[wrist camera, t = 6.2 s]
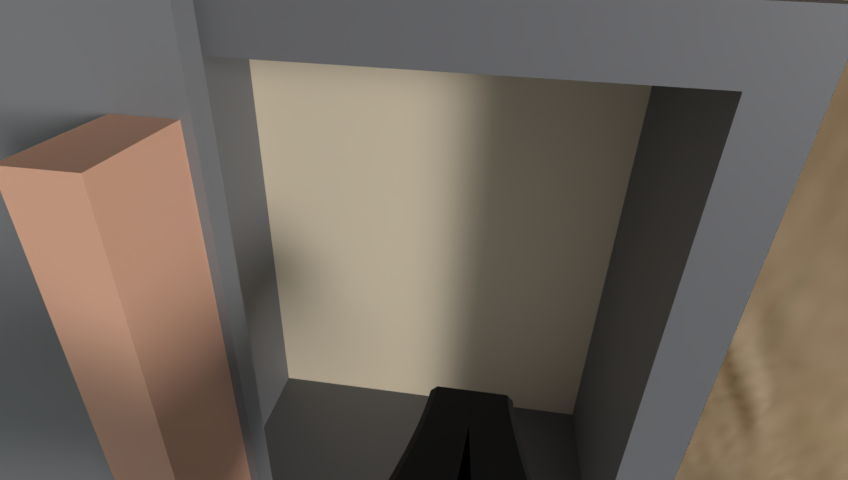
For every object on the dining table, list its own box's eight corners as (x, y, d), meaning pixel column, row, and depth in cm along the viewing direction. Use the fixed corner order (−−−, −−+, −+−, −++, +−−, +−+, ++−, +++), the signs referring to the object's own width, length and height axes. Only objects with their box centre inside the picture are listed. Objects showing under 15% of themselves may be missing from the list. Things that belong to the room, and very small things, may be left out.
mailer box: (600, 435, 18) (629, 588, 14) (264, 390, 19) (194, 518, 15) (731, -20, 11) (869, 5, 7) (195, -45, 13) (30, -36, 8)
